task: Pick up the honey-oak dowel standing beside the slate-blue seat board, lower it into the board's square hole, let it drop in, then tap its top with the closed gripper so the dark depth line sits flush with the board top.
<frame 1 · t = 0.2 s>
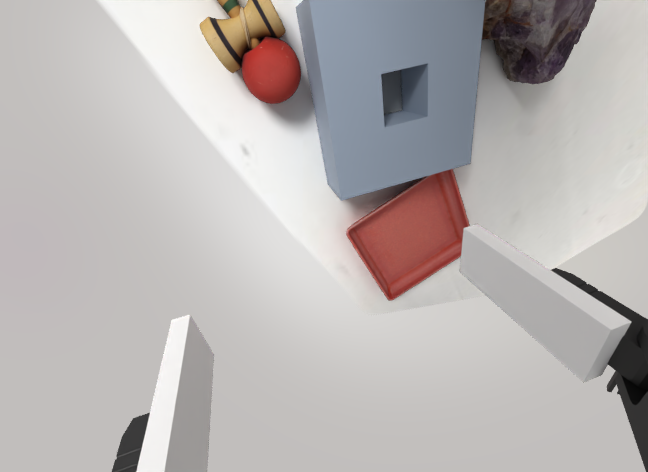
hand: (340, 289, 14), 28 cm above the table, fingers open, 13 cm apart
board: (382, 92, 37), on the table
plant saucer: (406, 230, 50), on the table
kendama: (231, 13, 30), on the table
rock: (508, 27, 38), on the table
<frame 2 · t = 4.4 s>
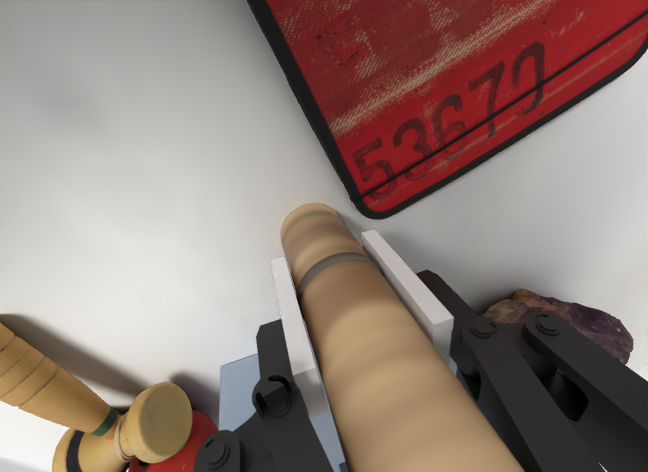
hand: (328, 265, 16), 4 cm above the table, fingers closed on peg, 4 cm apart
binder: (470, 9, 16), on the table
board: (349, 395, 29), on the table
kendama: (118, 384, 21), on the table
peg: (312, 232, 19), on the table, touching gripper
rock: (511, 307, 29), on the table
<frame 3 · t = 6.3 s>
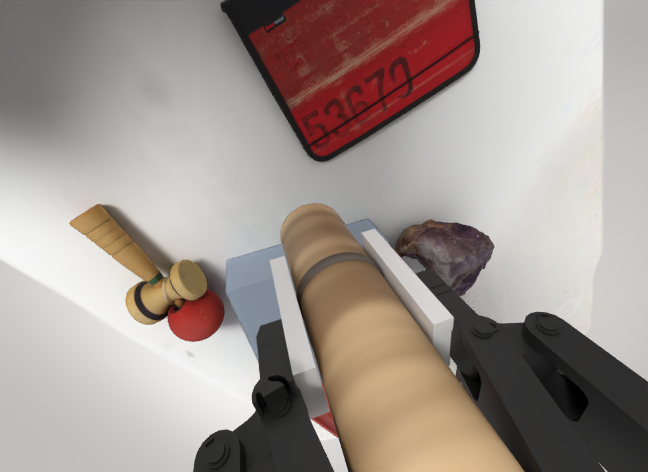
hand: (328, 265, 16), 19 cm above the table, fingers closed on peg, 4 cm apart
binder: (365, 39, 28), on the table
board: (315, 297, 41), on the table
plant saucer: (352, 377, 54), on the table
kendama: (160, 265, 34), on the table
peg: (312, 232, 19), point 15 cm above the table, touching gripper
rock: (428, 237, 42), on the table
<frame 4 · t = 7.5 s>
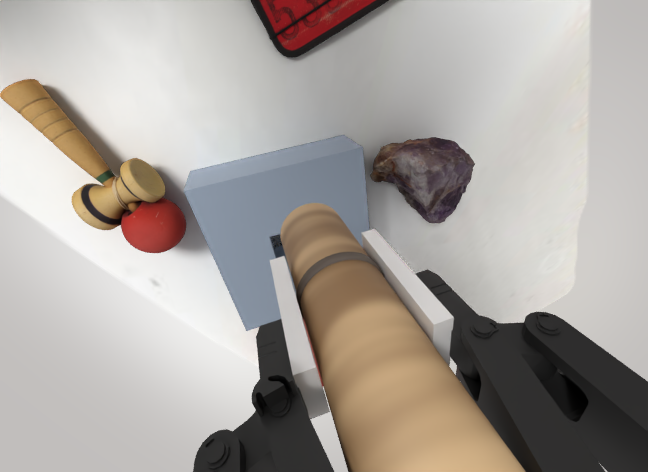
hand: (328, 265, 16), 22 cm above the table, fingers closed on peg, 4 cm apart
board: (288, 226, 39), on the table
kendama: (114, 170, 31), on the table
peg: (312, 232, 19), point 19 cm above the table, touching gripper
rock: (408, 165, 40), on the table
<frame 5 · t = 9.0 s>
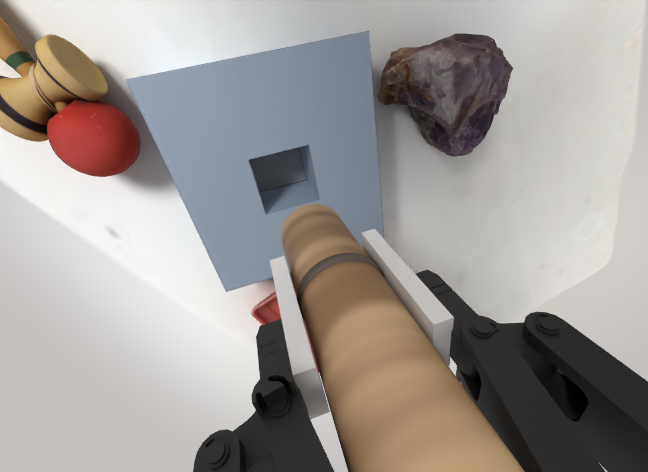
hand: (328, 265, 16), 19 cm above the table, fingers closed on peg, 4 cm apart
board: (277, 163, 32), on the table
plant saucer: (333, 297, 45), on the table
kendama: (42, 65, 24), on the table
peg: (312, 233, 19), point 16 cm above the table, touching gripper
rock: (424, 88, 32), on the table
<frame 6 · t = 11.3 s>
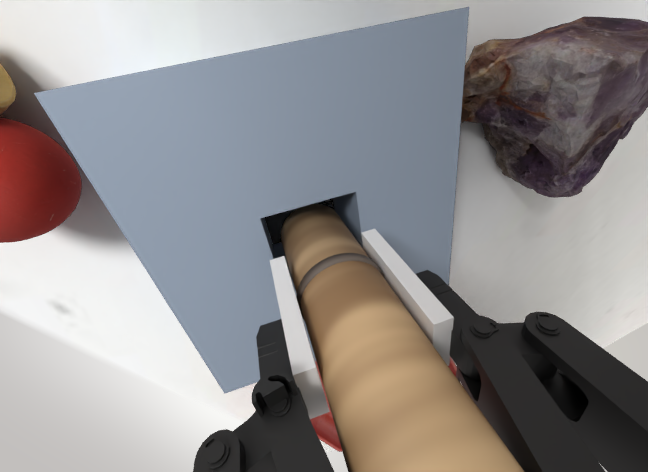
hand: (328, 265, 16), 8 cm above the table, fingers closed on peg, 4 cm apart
board: (298, 205, 22), on the table
plant saucer: (361, 360, 35), on the table
peg: (312, 233, 19), point 4 cm above the table, touching gripper
rock: (505, 98, 23), on the table
when the fingers open (8 cm above the table, at t = 12.4 s): peg drops 4 cm, resting in board.
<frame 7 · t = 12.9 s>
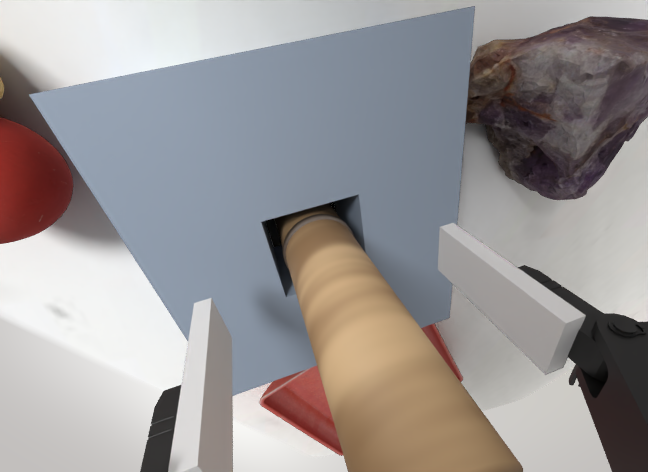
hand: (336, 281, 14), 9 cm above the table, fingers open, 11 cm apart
board: (299, 207, 22), on the table
plant saucer: (363, 363, 35), on the table
peg: (299, 207, 22), resting in board
rock: (508, 99, 23), on the table
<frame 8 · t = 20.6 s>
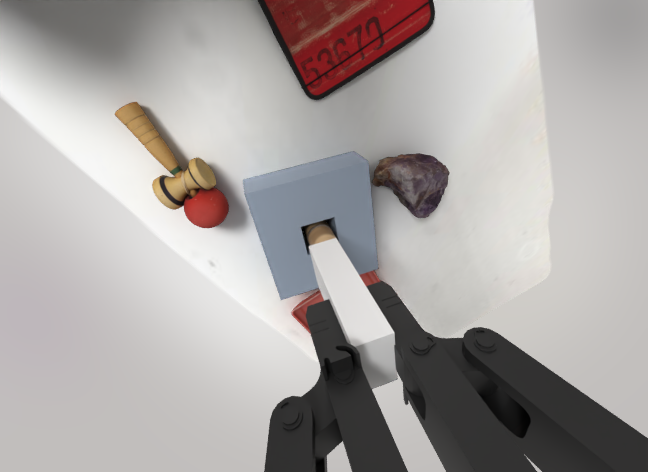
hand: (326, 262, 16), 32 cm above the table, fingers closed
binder: (347, 3, 38), on the table
board: (312, 220, 51), on the table
plant saucer: (344, 302, 64), on the table
kendama: (179, 166, 42), on the table
peg: (311, 220, 51), resting in board
rock: (401, 173, 52), on the table
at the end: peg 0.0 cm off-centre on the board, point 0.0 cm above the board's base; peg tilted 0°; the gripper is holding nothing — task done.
